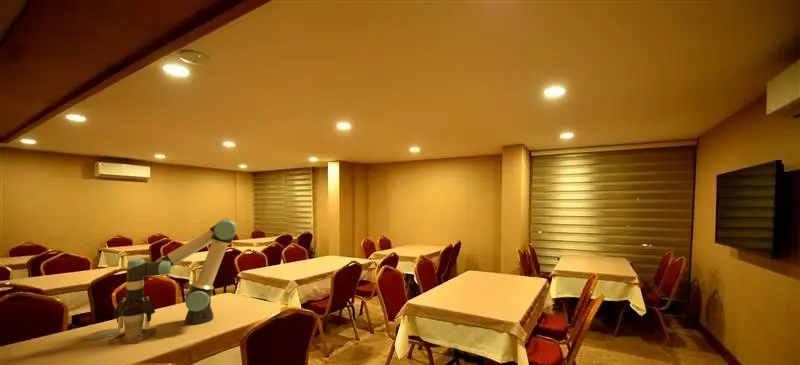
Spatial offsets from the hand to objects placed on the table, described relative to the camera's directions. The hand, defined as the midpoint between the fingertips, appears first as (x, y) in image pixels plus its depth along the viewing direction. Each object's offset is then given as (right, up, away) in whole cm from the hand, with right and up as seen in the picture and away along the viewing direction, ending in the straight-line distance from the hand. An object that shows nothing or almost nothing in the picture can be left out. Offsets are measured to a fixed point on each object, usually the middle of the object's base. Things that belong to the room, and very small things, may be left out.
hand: (133, 328), depth 178 cm
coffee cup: (0, -5, 0) cm, 5 cm away
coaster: (-20, -6, +4) cm, 22 cm away
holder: (0, -5, 0) cm, 5 cm away
